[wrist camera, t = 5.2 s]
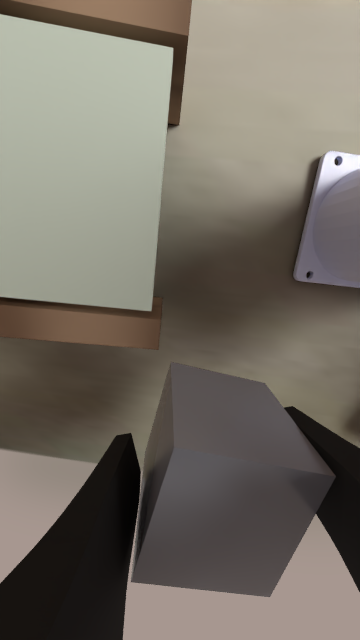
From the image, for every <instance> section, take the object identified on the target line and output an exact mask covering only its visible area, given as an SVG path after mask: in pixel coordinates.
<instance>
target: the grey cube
mask: <svg viewBox="0 0 360 640" xmlns="http://www.w3.org/2000/svg"><path fill="white" fill-rule="evenodd" d="M335 477H336V476H335V475H334V473H333V472H332V471H331V469H330V468H329V467H328V465H327V464H326V463H325V462H324V460H323V459H322V458H321V456H320V455H319V454H318V452H317V451H316V450H315V448H314V447H313V446H312V444H311V443H310V442H309V441H308V439H307V438H306V437H305V435H304V434H303V433H302V431H301V430H300V429H299V427H298V426H297V425H296V424H295V422H294V421H293V420H292V418H291V417H290V416H289V414H288V413H287V412H286V410H285V409H284V408H283V406H282V405H281V404H280V402H279V401H278V400H277V399H276V397H275V396H274V395H273V393H272V392H271V391H270V389H269V388H268V387H267V385H266V384H265V383H262V382H258V381H253V380H249V379H244V378H240V377H236V376H231V375H227V374H222V373H218V372H213V371H209V370H205V369H200V368H196V367H191V366H187V365H183V364H178V363H174V362H171V363H170V367H169V370H168V374H167V377H166V381H165V384H164V388H163V391H162V395H161V398H160V402H159V405H158V409H157V412H156V416H155V419H154V423H153V426H152V430H151V433H150V437H149V441H148V444H147V448H146V451H145V458H144V467H143V477H142V486H141V495H140V504H139V513H138V522H137V531H136V541H135V550H134V559H133V568H132V577H131V582H135V583H145V584H155V585H163V586H172V587H181V588H190V589H200V590H209V591H218V592H227V593H236V594H246V595H255V596H264V597H270V596H271V594H272V592H273V590H274V588H275V587H276V585H277V583H278V581H279V579H280V578H281V575H282V574H283V572H284V570H285V568H286V567H287V565H288V563H289V561H290V559H291V558H292V556H293V554H294V552H295V550H296V548H297V547H298V545H299V543H300V541H301V539H302V537H303V536H304V534H305V532H306V530H307V528H308V527H309V525H310V523H311V521H312V519H313V517H314V516H315V514H316V512H317V510H318V508H319V507H320V505H321V503H322V501H323V499H324V497H325V496H326V494H327V492H328V490H329V488H330V486H331V485H332V483H333V481H334V479H335Z"/></svg>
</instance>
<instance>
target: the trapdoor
mask: <svg viewBox="0 0 360 640" xmlns="http://www.w3.org/2000/svg"><path fill="white" fill-rule="evenodd" d="M172 65H173V48H172V47H166V46H161V45H156V44H151V43H146V42H141V41H135V40H130V39H125V38H120V37H115V36H110V35H105V34H99V33H94V32H89V31H84V30H79V29H74V28H69V27H63V26H58V25H53V24H48V23H43V22H38V21H32V20H27V19H22V18H17V17H12V16H7V15H2V14H0V297H8V298H18V299H29V300H39V301H50V302H60V303H70V304H81V305H91V306H101V307H112V308H122V309H133V310H143V311H151V310H152V301H153V290H154V278H155V266H156V254H157V242H158V230H159V219H160V207H161V195H162V183H163V171H164V159H165V147H166V136H167V124H168V112H169V100H170V88H171V76H172Z"/></svg>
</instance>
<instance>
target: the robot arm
mask: <svg viewBox="0 0 360 640" xmlns="http://www.w3.org/2000/svg"><path fill="white" fill-rule="evenodd" d="M335 159H337V160H338V165H335V163H334V160H335ZM307 272H310V276H309V277H308V278H307V277H306V274H307ZM293 276H294V278H295V279H296V280H298V281H303V282H312V283H320V284H329V285H338V286H347V287H356V288H360V155H355V154H349V153H343V152H337V151H329V152H327V153H325V154H324V155H323V156H322V157H321V159H320V162H319V166H318V170H317V175H316V179H315V183H314V187H313V192H312V196H311V200H310V204H309V209H308V213H307V217H306V222H305V226H304V230H303V234H302V239H301V243H300V247H299V252H298V256H297V260H296V264H295V269H294V273H293ZM284 409H285V410H286V412H287V413H288V414H289V416H290V417H291V418H292V420H293V421H294V422H295V424H296V425H297V426H298V427H299V429H300V430H301V431H302V433H303V434H304V435H305V437H306V438H307V439H308V441H309V442H310V443H311V444H312V446H313V447H314V448H315V450H316V451H317V452H318V454H319V455H320V456H321V458H322V459H323V460H324V462H325V463H326V464H327V465H328V467H329V468H330V469H331V471H332V472H333V473H334V475H335V476H336V477H335V479H334V481H333V483H332V485H331V486H330V488H329V490H328V492H327V494H326V496H325V497H324V499H323V501H322V503H321V505H320V507H319V508H318V510H317V512H316V514H317V516H318V518H319V519H320V521H321V522H322V524H323V526H324V527H325V529H326V531H327V532H328V534H329V535H330V537H331V539H332V541H333V542H334V544H335V546H336V548H337V549H338V551H339V553H340V555H341V556H342V558H343V561H344V562H345V564H346V566H347V568H348V570H349V572H350V574H351V576H352V578H353V580H354V582H355V584H356V586H357V588H358V590H359V592H360V448H358V447H356V446H355V445H353V444H351V443H350V442H348V441H346V440H345V439H343V438H341V437H340V436H338V435H337V434H335V433H333V432H332V431H330V430H329V429H327V428H326V427H324V426H322V425H321V424H319V423H318V422H316V421H315V420H313V419H312V418H310V417H309V416H307V415H306V414H304V413H302V412H301V411H299V410H298V409H296V408H295V407H293V406H291V407H285V408H284ZM140 474H141V471H140V467H139V463H138V459H137V455H136V451H135V447H134V443H133V439H132V434H131V433H128V434H122V435H117V436H116V437H115V438H114V440H113V441H112V443H111V444H110V446H109V448H108V449H107V451H106V452H105V454H104V455H103V457H102V458H101V460H100V461H99V463H98V465H97V466H96V467H95V469H94V471H93V472H92V473H91V475H90V476H89V478H88V479H87V481H86V482H85V484H84V485H83V486H82V488H81V489H80V491H79V492H78V493H77V494H76V496H75V497H74V499H73V500H72V501H71V503H70V504H69V505H68V507H67V508H66V509H65V511H64V512H63V513H62V514H61V516H60V517H59V518H58V519H57V521H56V522H55V523H54V524H53V526H52V527H51V528H50V529H49V530H48V532H47V533H46V534H45V535H44V536H43V538H42V539H41V540H40V541H39V542H38V543H37V545H36V546H35V547H34V548H33V549H32V550H31V551H30V552H29V553H28V554H27V556H26V557H25V558H24V559H23V560H22V561H21V562H20V563H19V564H18V565H17V566H16V568H14V569H13V571H12V572H11V573H10V574H9V575H8V576H7V577H6V578H5V579H4V580H3V581H2V582H1V583H0V640H123V626H124V614H125V613H124V612H125V601H126V590H127V581H128V573H129V565H130V559H131V552H132V546H133V539H134V533H135V525H136V519H137V512H138V505H139V495H140Z"/></svg>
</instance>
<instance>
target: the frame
mask: <svg viewBox="0 0 360 640" xmlns="http://www.w3.org/2000/svg"><path fill="white" fill-rule="evenodd" d="M191 4H192V0H0V14H2V15H7V16H12V17H17V18H22V19H27V20H32V21H38V22H43V23H48V24H53V25H58V26H63V27H69V28H74V29H79V30H84V31H89V32H94V33H99V34H105V35H110V36H115V37H120V38H125V39H130V40H135V41H141V42H146V43H151V44H156V45H161V46H166V47H172V48H173V65H172V76H171V88H170V100H169V112H168V123H169V124H175V125H179V121H180V112H181V102H182V93H183V83H184V74H185V64H186V54H187V45H188V35H189V25H190V15H191ZM162 300H163V298H160V297H153V301H152V310H151V311H143V310H133V309H122V308H112V307H101V306H91V305H81V304H70V303H60V302H50V301H39V300H29V299H18V298H8V297H0V337H10V338H22V339H34V340H47V341H59V342H71V343H83V344H95V345H107V346H119V347H131V348H144V349H156V350H158V348H159V337H160V327H161V315H162Z"/></svg>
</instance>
